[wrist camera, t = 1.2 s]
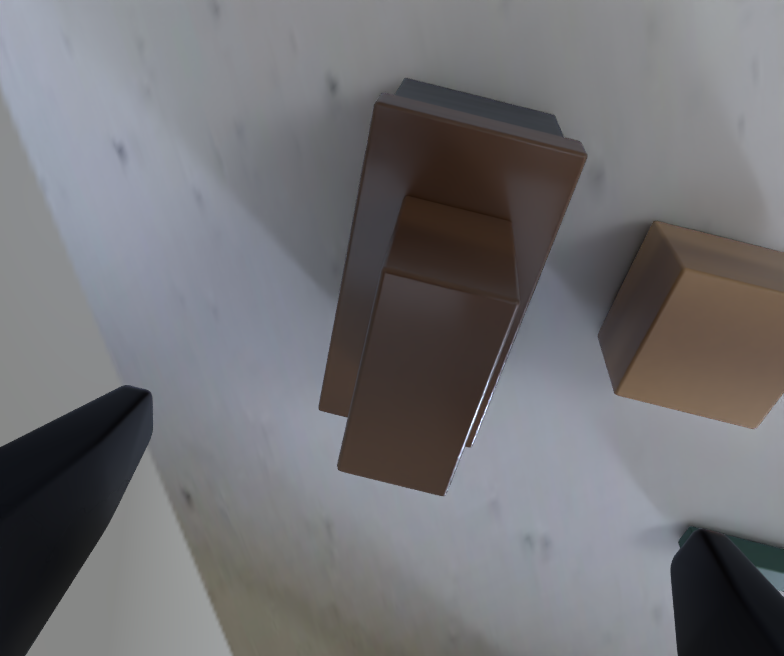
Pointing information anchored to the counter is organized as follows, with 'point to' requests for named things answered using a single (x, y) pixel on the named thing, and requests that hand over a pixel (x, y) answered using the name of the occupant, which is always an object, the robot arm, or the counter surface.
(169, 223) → the counter surface
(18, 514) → the robot arm
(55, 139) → the counter surface
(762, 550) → the frame
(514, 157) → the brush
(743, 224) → the counter surface
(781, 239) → the counter surface
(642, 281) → the cork block
